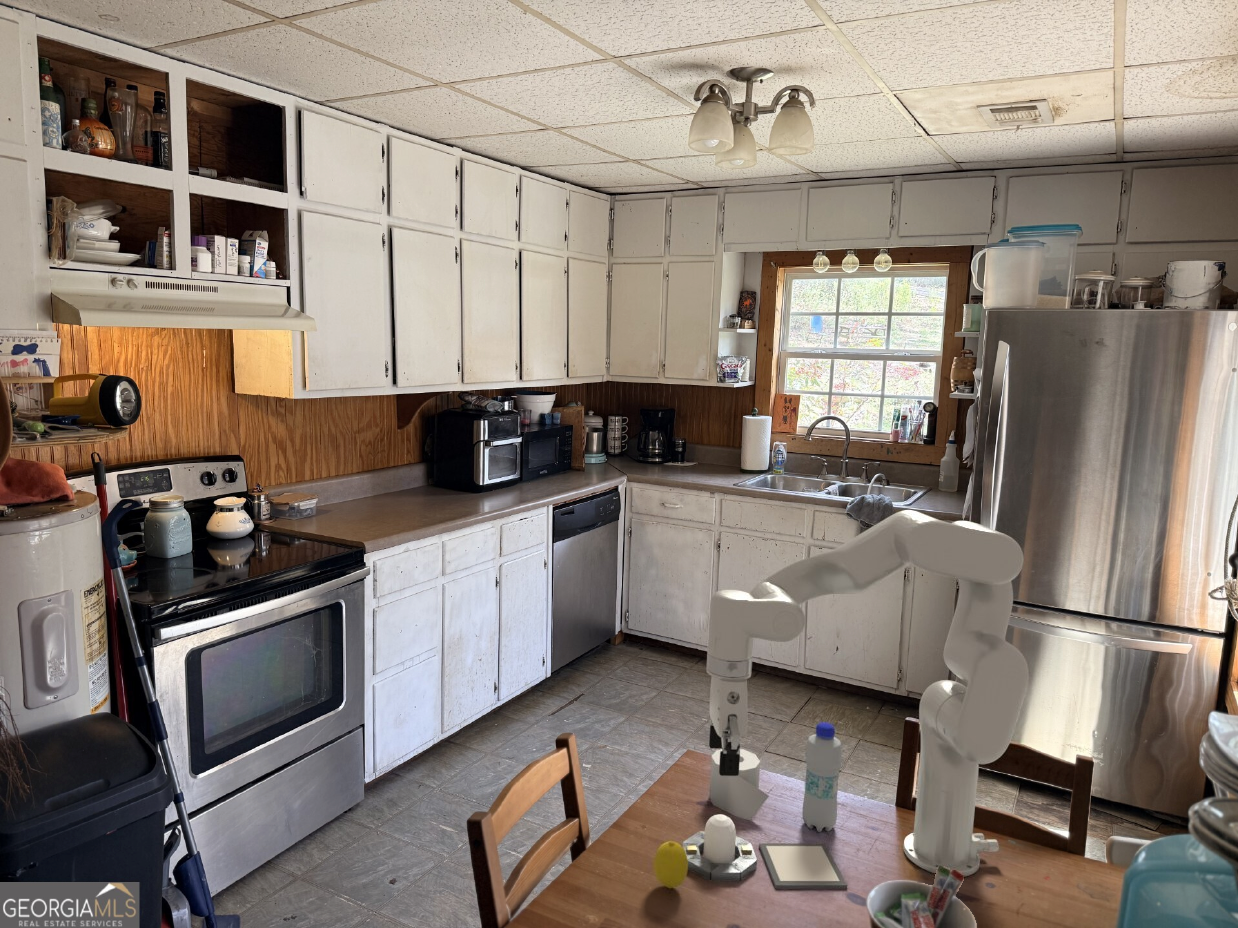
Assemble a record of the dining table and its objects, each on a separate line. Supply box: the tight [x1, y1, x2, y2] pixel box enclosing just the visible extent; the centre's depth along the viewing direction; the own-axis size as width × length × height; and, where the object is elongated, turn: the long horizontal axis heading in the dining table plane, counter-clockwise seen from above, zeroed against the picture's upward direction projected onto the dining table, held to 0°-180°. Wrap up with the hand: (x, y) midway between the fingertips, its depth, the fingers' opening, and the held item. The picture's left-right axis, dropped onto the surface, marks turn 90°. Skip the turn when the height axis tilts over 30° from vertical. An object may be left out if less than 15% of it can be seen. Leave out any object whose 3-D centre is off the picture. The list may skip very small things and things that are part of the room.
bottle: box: [801, 721, 843, 833], centre depth 153 cm, size 7×7×20 cm
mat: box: [758, 842, 848, 890], centre depth 141 cm, size 12×12×1 cm
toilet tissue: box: [708, 748, 770, 821], centre depth 161 cm, size 9×13×9 cm
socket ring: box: [681, 830, 758, 883], centre depth 142 cm, size 12×12×2 cm
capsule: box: [702, 813, 737, 863], centre depth 142 cm, size 5×5×8 cm
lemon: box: [653, 840, 689, 889], centre depth 134 cm, size 6×6×8 cm
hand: (723, 760), depth 140 cm, fingers open, 9 cm apart
